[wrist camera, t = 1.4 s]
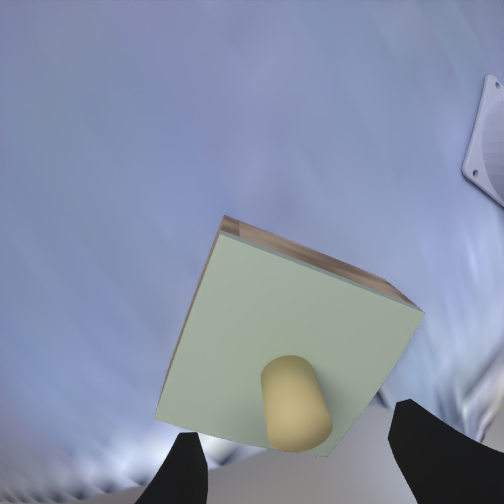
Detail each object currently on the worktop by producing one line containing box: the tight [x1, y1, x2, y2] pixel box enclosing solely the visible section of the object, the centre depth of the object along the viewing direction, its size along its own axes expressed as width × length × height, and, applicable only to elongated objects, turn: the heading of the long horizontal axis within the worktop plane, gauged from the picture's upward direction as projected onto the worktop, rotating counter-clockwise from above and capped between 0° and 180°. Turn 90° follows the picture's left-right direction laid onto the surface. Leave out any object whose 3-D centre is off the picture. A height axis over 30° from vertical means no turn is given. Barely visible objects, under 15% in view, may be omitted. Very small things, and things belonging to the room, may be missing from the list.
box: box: [158, 215, 416, 403], centre depth 16 cm, size 10×10×4 cm
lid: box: [154, 230, 425, 457], centre depth 12 cm, size 10×10×4 cm
